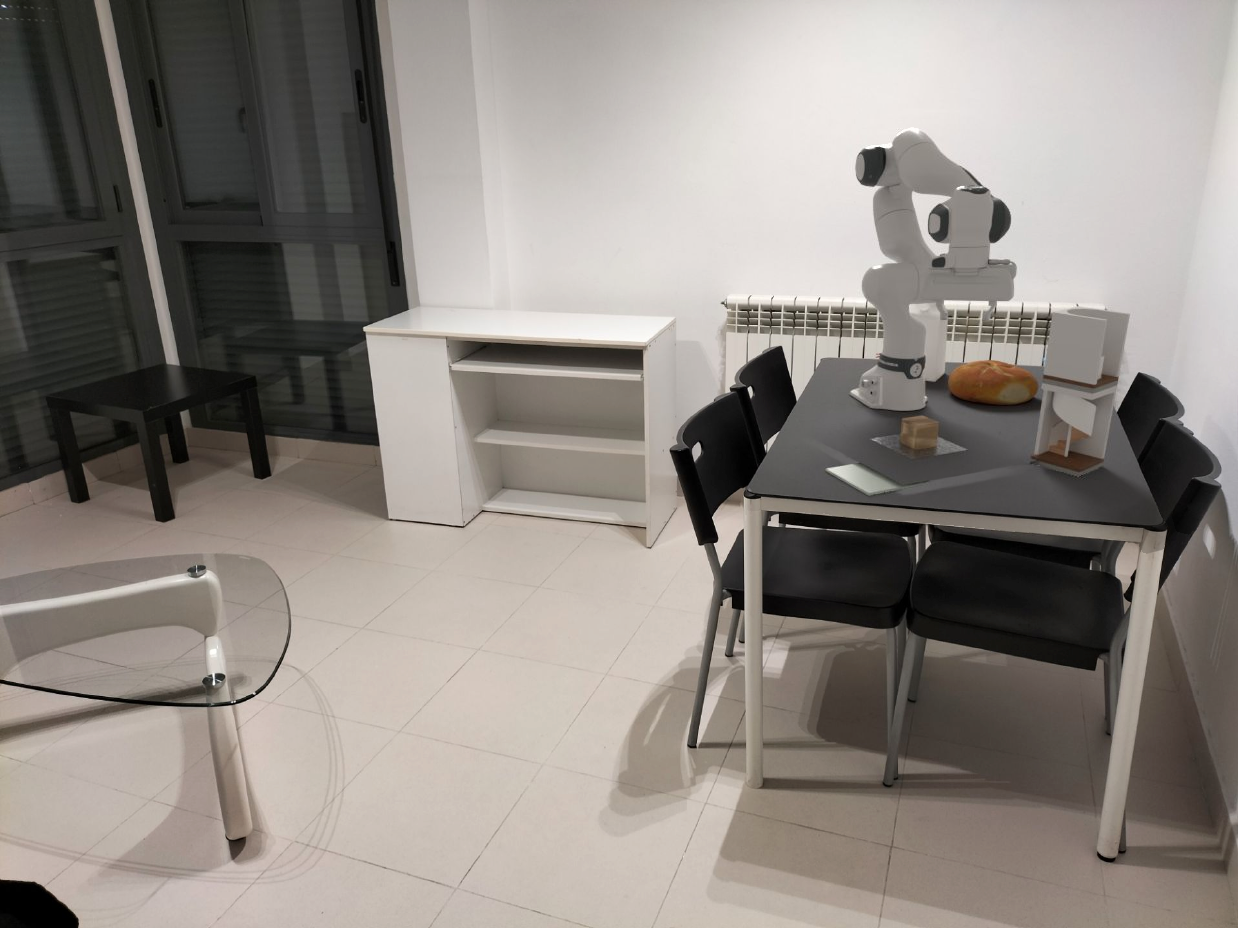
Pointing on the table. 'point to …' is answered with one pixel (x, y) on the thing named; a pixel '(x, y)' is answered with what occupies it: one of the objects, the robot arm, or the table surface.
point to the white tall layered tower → (1079, 388)
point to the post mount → (911, 453)
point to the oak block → (919, 432)
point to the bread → (992, 383)
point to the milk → (932, 338)
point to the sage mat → (868, 479)
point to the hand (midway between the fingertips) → (964, 320)
